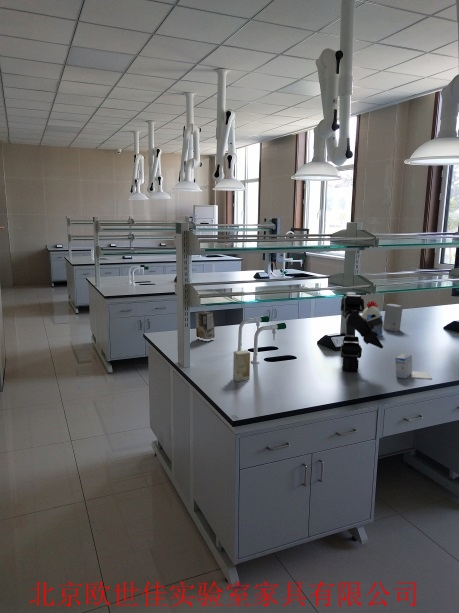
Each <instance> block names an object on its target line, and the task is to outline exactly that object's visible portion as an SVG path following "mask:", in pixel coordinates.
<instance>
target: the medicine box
mask: <svg viewBox="0 0 459 613" xmlns="http://www.w3.org/2000/svg"><path fill="white" fill-rule="evenodd" d="M412 359H413V358H412V354H409V353H400V354H399V355H398V356H397V357H395V377H396V378H401V379H407V378H408V377H409V376H411V375H410V374H411V373H412V371H413V360H412Z"/></svg>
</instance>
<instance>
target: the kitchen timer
mask: <svg viewBox="0 0 459 613" xmlns="http://www.w3.org/2000/svg"><path fill="white" fill-rule="evenodd" d="M378 305H379V304H377V302H376V301H374V300H373V301H372V300H371V301H368V302H366V308H364V310H363V312H362V314H361V316H362V317H363V318H365V319H366V320H367V315H373V314H375V315H379V316H382V314H381V311H380V309H379V308H378Z"/></svg>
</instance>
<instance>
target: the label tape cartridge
mask: <svg viewBox="0 0 459 613" xmlns="http://www.w3.org/2000/svg"><path fill="white" fill-rule="evenodd" d="M376 316H377V315H376ZM380 317H381V320H382V322H383V323H382V324H379V325H376V326H374V329H372V330H376V331H377V333H378V336H377V337H382V336H383V331H384V329H383V325H384V320H383V315H381V316H380ZM369 318H371V315H367V320H368V319H369Z"/></svg>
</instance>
